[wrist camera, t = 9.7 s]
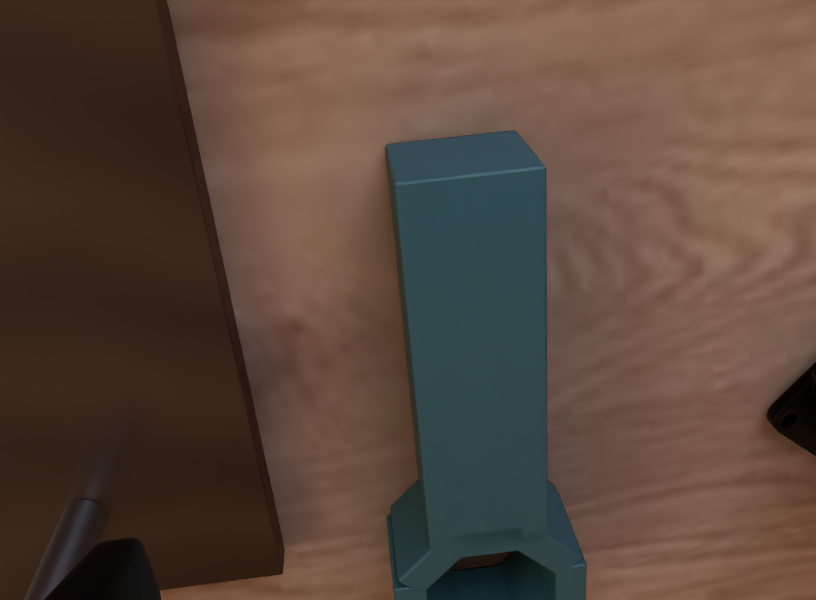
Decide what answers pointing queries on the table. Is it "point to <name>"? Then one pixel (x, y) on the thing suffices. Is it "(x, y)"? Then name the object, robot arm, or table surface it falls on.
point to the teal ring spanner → (476, 374)
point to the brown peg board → (116, 313)
